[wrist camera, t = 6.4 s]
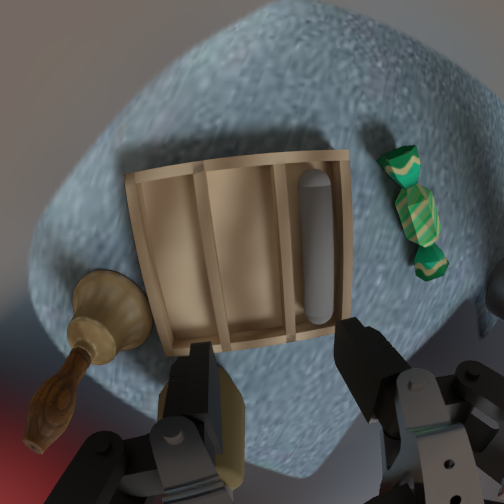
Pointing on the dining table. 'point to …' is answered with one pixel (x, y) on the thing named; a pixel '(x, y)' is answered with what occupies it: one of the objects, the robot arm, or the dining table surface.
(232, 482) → the squeeze bottle
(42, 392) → the hand bell
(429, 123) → the dining table surface
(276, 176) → the wooden compartment tray
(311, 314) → the grey capsule rod
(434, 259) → the candy
